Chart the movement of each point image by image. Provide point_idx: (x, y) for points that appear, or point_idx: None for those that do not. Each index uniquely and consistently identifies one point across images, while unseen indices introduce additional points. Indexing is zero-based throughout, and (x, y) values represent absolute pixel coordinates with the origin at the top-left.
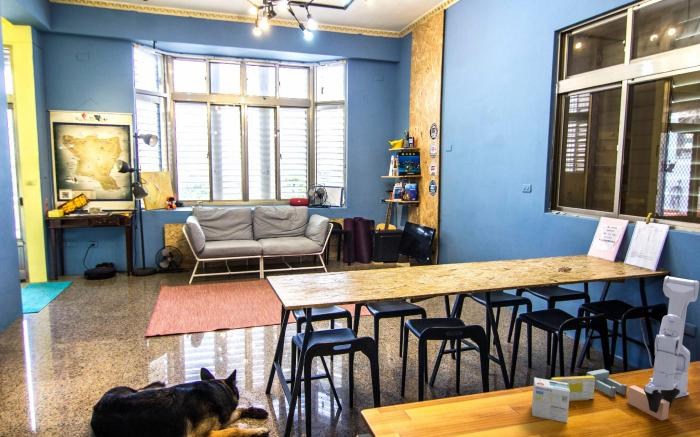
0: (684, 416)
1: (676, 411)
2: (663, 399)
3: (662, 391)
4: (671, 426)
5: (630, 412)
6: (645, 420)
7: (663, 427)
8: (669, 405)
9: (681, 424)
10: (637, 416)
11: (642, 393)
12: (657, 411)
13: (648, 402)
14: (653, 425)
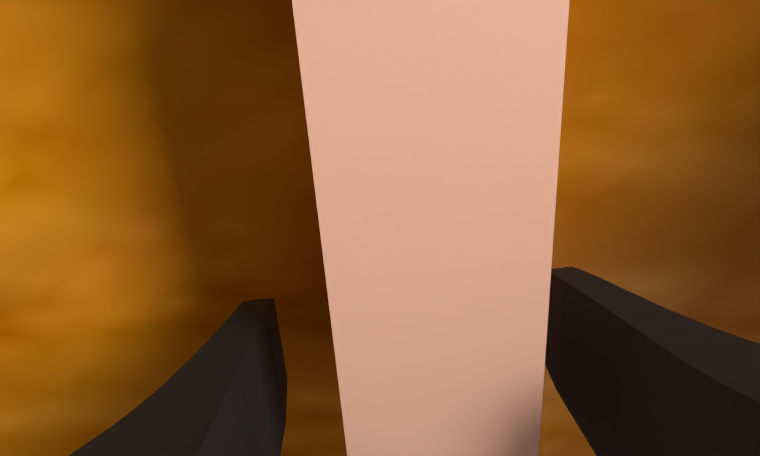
0: None
1: (755, 230)
2: (528, 441)
3: (725, 432)
4: (341, 441)
5: (66, 97)
6: (130, 304)
7: None
8: (570, 410)
9: None
10: (93, 209)
11: (308, 125)
12: (286, 398)
13: (183, 369)
14: (142, 398)
